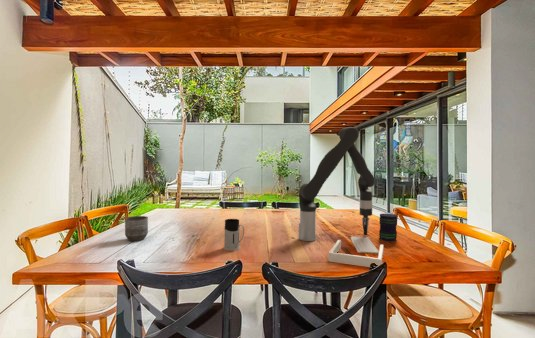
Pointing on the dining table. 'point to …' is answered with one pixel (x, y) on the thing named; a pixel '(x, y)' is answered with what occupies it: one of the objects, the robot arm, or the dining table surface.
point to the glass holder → (232, 235)
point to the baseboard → (364, 245)
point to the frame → (353, 257)
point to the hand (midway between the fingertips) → (365, 234)
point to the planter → (136, 228)
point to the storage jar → (388, 227)
